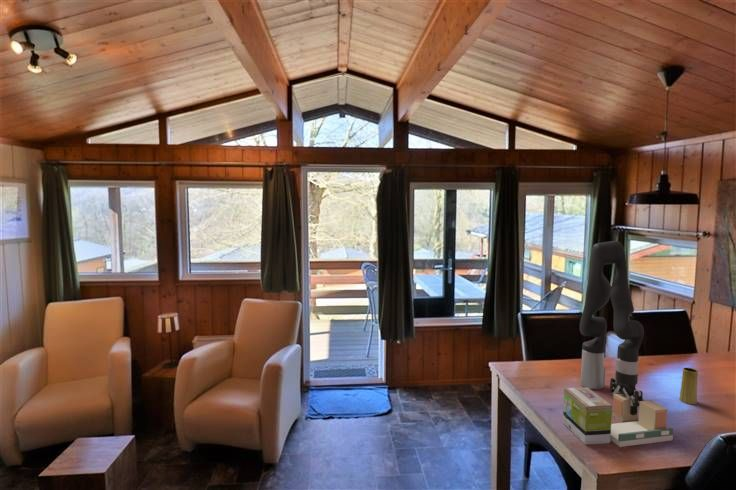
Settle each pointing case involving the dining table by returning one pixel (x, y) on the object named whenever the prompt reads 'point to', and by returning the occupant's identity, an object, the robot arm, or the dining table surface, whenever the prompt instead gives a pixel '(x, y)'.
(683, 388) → the vase
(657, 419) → the faced carton
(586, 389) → the tea box
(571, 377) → the dining table surface
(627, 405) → the carton
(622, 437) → the white flat slab
